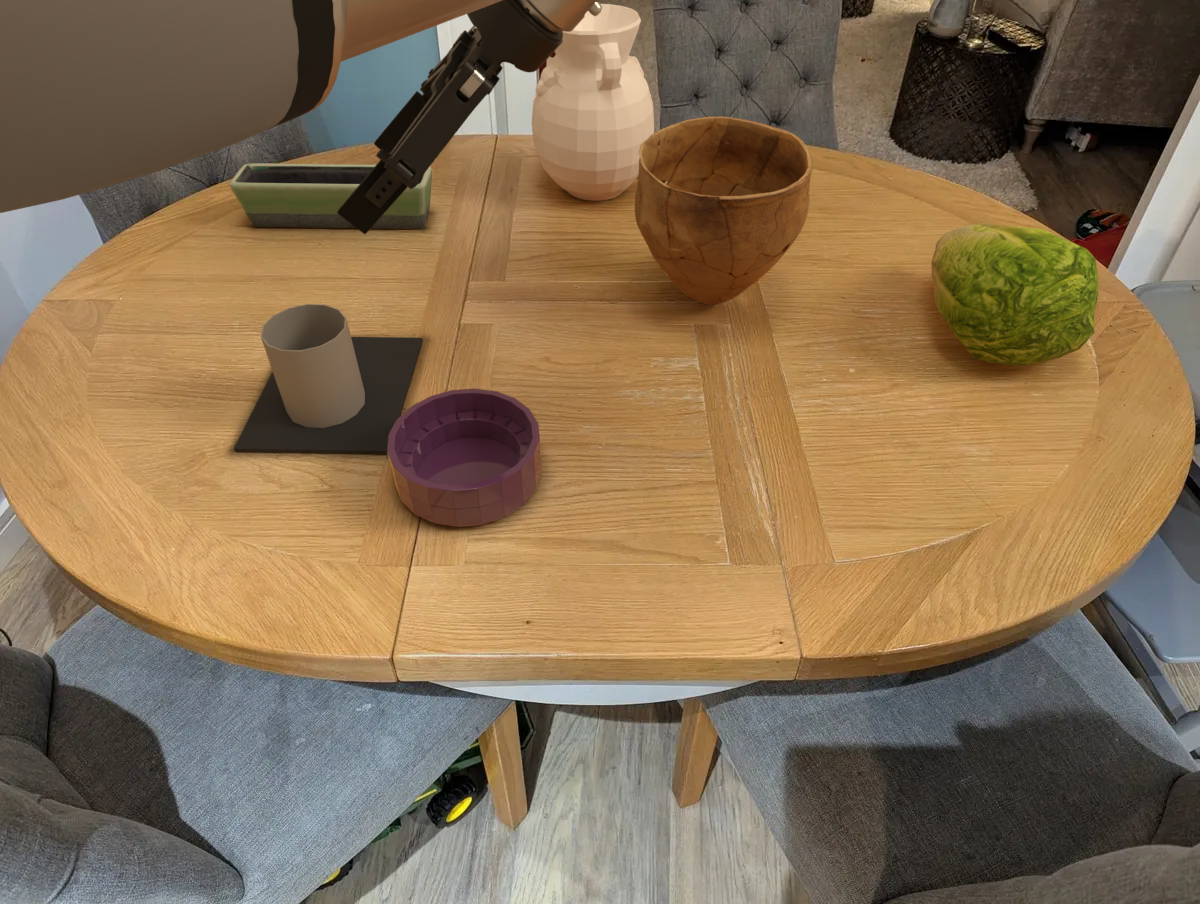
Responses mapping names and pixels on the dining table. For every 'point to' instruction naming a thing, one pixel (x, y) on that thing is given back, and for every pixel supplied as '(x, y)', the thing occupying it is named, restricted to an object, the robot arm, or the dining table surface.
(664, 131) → the bowl
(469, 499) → the plum bowl
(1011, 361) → the lettuce
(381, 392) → the place mat
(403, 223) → the planter
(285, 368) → the cup
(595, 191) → the pitcher
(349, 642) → the dining table surface
